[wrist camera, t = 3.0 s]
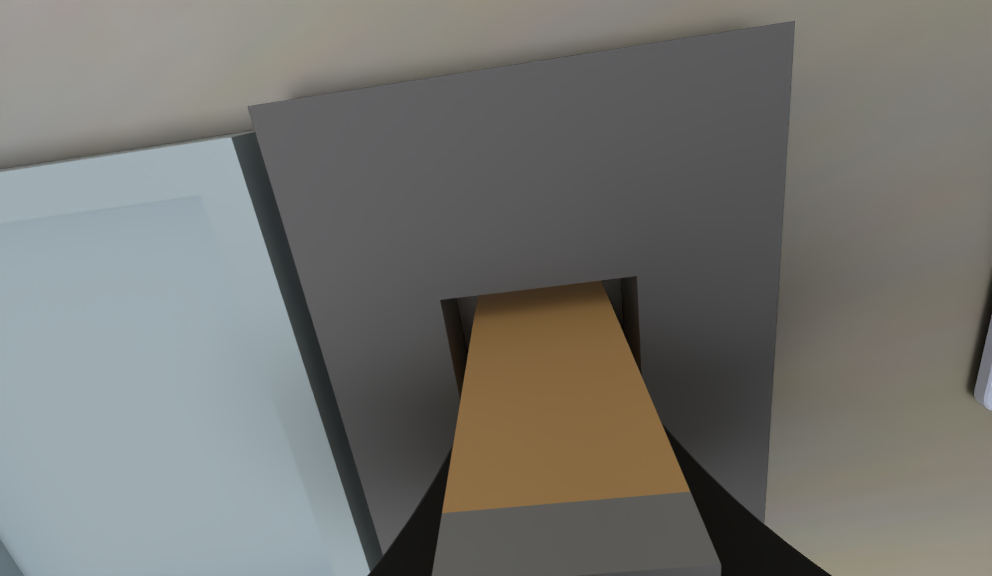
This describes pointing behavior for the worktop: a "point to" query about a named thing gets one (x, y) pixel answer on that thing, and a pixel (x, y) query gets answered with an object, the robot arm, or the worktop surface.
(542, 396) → the orange two-tone block
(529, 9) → the worktop surface
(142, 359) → the parts tray
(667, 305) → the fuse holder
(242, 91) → the worktop surface
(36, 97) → the worktop surface
